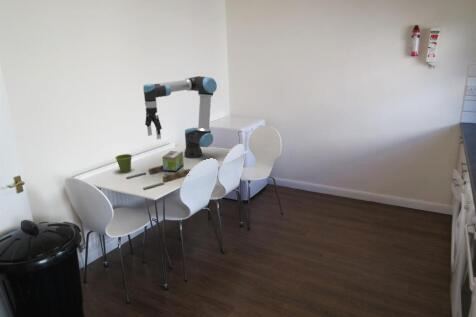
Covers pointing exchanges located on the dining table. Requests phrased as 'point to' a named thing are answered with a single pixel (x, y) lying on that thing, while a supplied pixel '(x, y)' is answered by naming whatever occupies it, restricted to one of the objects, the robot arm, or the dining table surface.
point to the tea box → (173, 162)
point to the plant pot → (124, 162)
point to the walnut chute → (169, 176)
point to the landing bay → (147, 186)
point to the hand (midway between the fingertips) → (154, 137)
